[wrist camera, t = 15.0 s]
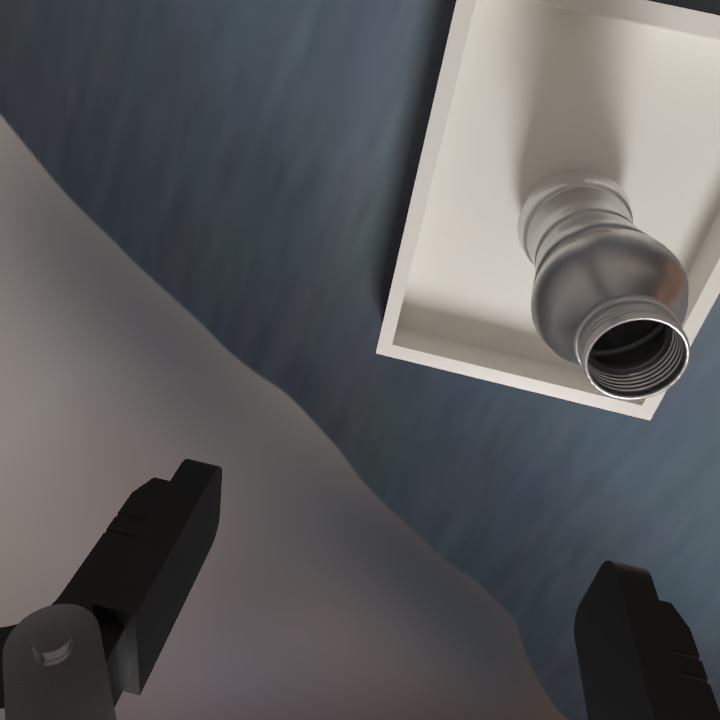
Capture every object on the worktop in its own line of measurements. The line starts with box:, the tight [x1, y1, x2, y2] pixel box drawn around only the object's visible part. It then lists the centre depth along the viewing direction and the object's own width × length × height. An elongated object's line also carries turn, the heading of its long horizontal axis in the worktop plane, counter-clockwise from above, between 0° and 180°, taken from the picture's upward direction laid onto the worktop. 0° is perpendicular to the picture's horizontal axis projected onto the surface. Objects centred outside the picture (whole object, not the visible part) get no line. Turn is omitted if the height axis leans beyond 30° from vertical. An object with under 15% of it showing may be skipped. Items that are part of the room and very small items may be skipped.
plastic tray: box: [376, 0, 720, 420], centre depth 38 cm, size 24×20×4 cm
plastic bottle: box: [517, 170, 691, 400], centre depth 31 cm, size 6×7×20 cm
